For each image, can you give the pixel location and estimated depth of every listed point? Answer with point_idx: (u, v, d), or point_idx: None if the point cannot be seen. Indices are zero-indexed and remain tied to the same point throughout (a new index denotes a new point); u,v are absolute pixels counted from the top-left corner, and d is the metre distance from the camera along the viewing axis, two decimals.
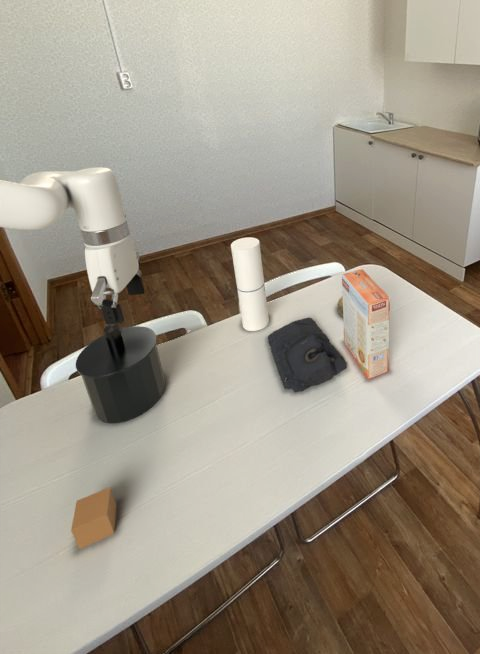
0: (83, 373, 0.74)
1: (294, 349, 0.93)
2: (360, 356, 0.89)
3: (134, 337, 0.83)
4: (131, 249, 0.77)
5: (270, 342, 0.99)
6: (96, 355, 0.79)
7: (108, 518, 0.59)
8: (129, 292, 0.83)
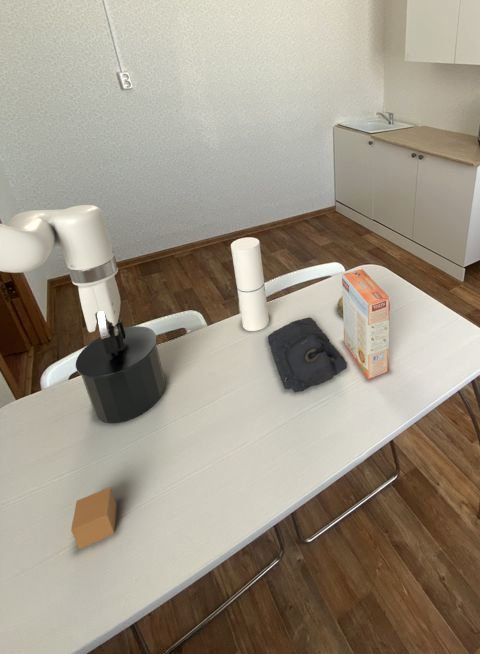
0: (83, 373, 0.74)
1: (294, 349, 0.93)
2: (360, 356, 0.89)
3: (134, 337, 0.83)
4: (115, 282, 0.78)
5: (270, 342, 0.99)
6: (96, 355, 0.79)
7: (108, 518, 0.59)
8: None
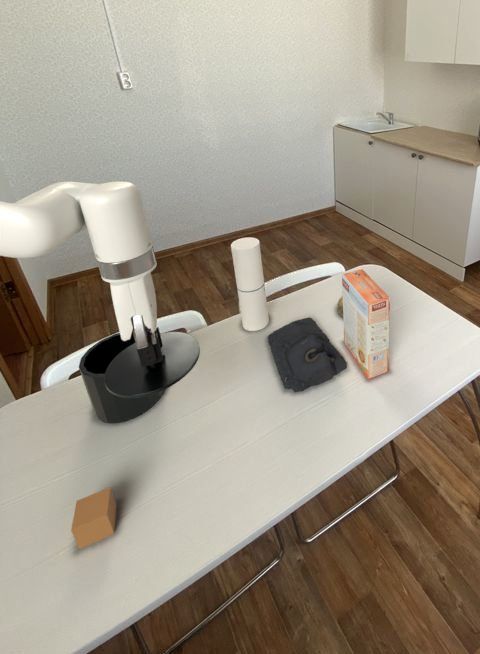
0: (115, 391, 0.60)
1: (294, 349, 0.93)
2: (360, 356, 0.89)
3: (172, 345, 0.69)
4: None
5: (270, 342, 0.99)
6: (129, 368, 0.64)
7: (108, 518, 0.59)
8: None
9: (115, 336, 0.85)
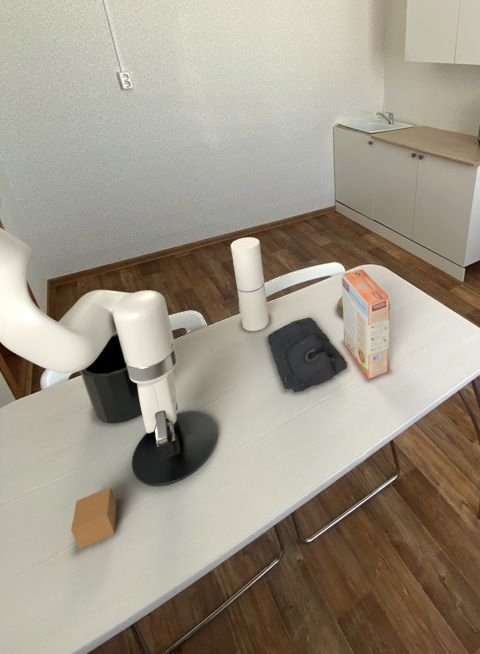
0: (142, 480, 0.67)
1: (294, 349, 0.93)
2: (360, 356, 0.89)
3: (191, 427, 0.76)
4: None
5: (270, 342, 0.99)
6: (153, 453, 0.71)
7: (108, 518, 0.59)
8: None
9: (115, 336, 0.85)
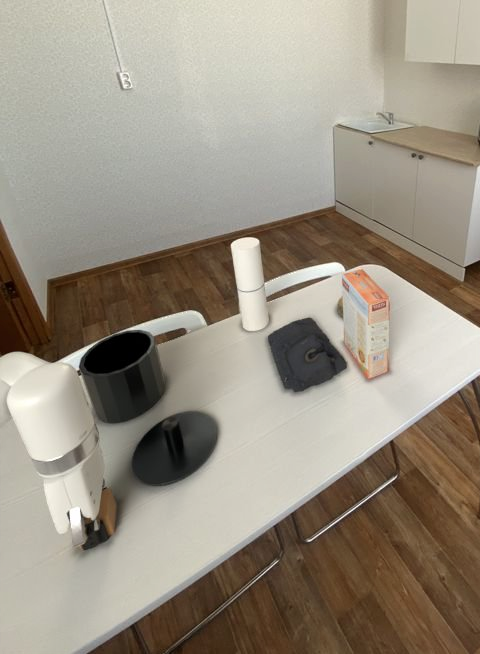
0: (142, 480, 0.67)
1: (294, 349, 0.93)
2: (360, 356, 0.89)
3: (191, 427, 0.76)
4: (97, 447, 0.60)
5: (270, 342, 0.99)
6: (153, 453, 0.71)
7: (108, 518, 0.59)
8: None
9: (115, 336, 0.85)
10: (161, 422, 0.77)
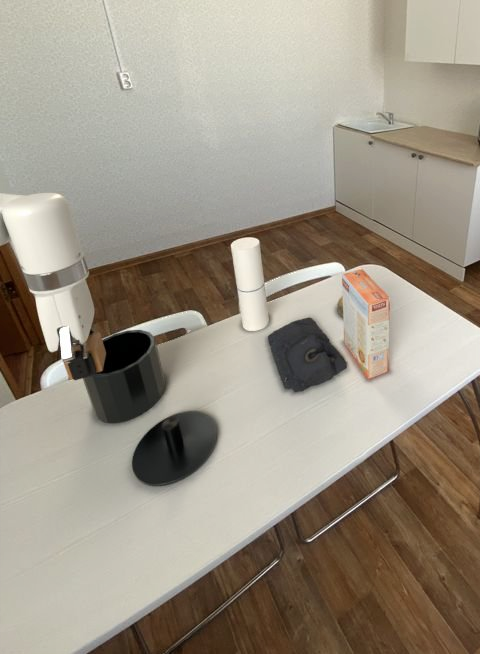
0: (142, 480, 0.67)
1: (294, 349, 0.93)
2: (360, 356, 0.89)
3: (191, 427, 0.76)
4: (87, 288, 0.64)
5: (270, 342, 0.99)
6: (153, 453, 0.71)
7: (97, 353, 0.63)
8: None
9: (115, 336, 0.85)
10: (161, 422, 0.77)
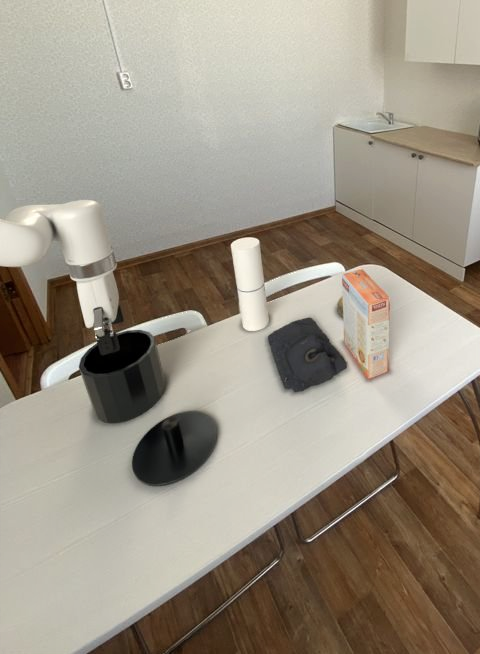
0: (142, 480, 0.67)
1: (294, 349, 0.93)
2: (360, 356, 0.89)
3: (191, 427, 0.76)
4: (114, 278, 0.78)
5: (270, 342, 0.99)
6: (153, 453, 0.71)
7: None
8: None
9: None
10: (161, 422, 0.77)
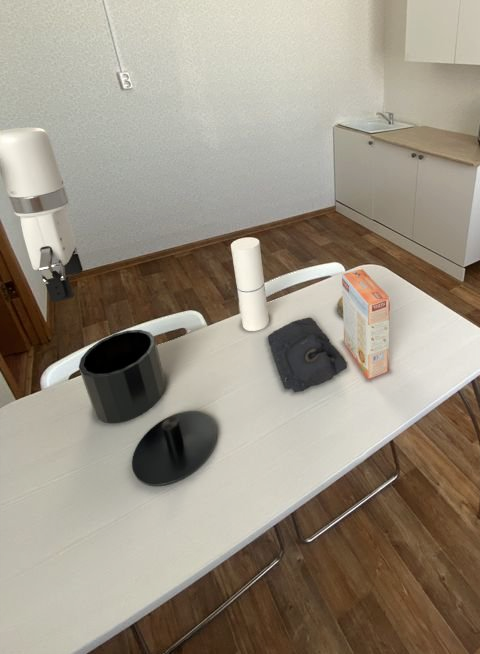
0: (142, 480, 0.67)
1: (294, 349, 0.93)
2: (360, 356, 0.89)
3: (191, 427, 0.76)
4: (68, 220, 0.71)
5: (270, 342, 0.99)
6: (153, 453, 0.71)
7: None
8: (64, 272, 0.75)
9: (115, 336, 0.85)
10: (161, 422, 0.77)
